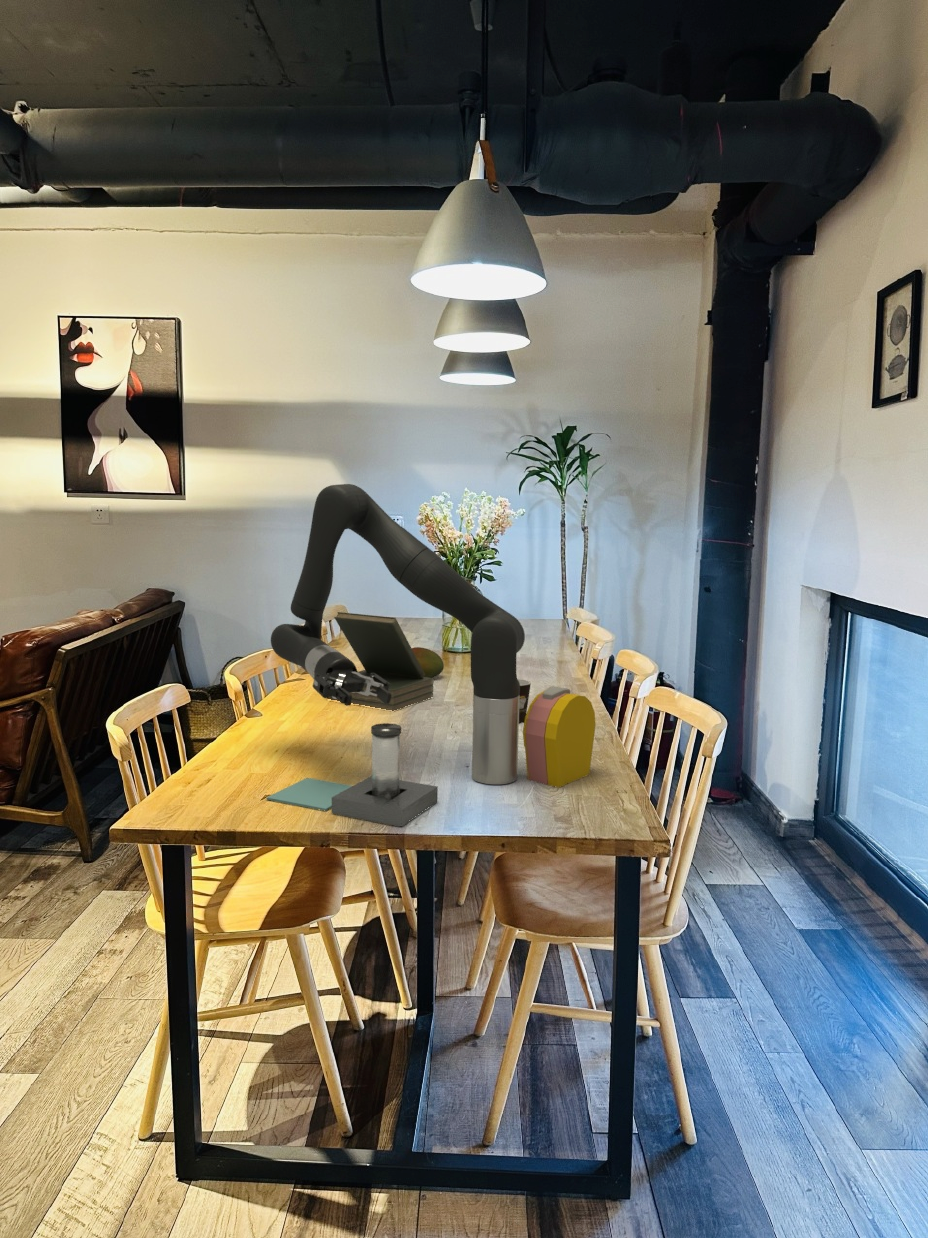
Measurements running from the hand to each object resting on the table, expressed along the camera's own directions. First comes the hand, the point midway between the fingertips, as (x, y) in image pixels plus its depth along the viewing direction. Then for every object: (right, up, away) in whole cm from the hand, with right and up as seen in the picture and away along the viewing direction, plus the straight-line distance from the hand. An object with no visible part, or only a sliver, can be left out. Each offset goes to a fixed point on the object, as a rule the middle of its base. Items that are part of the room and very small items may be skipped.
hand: (369, 700), depth 162 cm
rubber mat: (-10, -18, 0) cm, 21 cm away
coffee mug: (+29, -11, +59) cm, 67 cm away
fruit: (+5, -4, +110) cm, 110 cm away
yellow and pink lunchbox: (+37, -17, +14) cm, 43 cm away
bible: (-6, -8, +80) cm, 80 cm away
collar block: (+4, -19, -6) cm, 20 cm away
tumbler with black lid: (+4, -19, -6) cm, 20 cm away
